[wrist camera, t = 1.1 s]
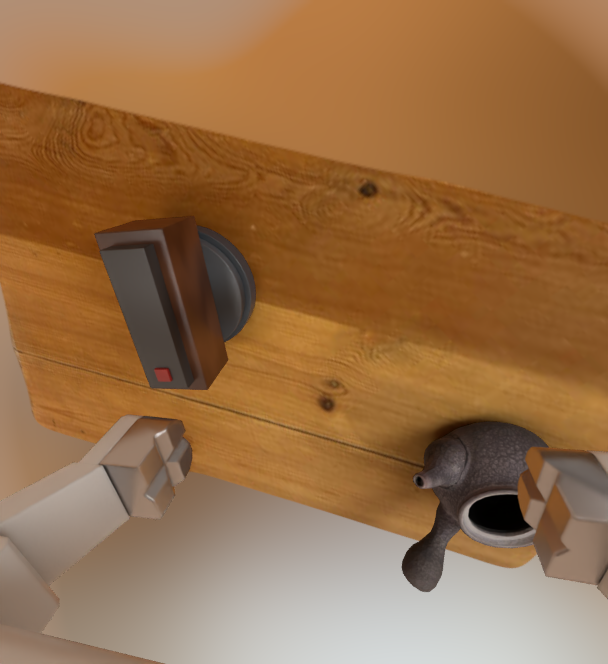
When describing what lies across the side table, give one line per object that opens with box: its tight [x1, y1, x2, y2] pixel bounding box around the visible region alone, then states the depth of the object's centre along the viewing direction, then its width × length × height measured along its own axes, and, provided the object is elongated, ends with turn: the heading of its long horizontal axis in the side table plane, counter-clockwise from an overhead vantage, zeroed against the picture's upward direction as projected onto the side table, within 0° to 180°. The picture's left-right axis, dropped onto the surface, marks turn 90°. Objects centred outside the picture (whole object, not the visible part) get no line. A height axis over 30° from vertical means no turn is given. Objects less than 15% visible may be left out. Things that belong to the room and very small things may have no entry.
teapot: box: [402, 422, 549, 592], centre depth 35 cm, size 19×15×10 cm
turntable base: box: [196, 225, 256, 342], centre depth 34 cm, size 12×12×2 cm
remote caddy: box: [94, 216, 245, 390], centre depth 30 cm, size 14×11×7 cm
